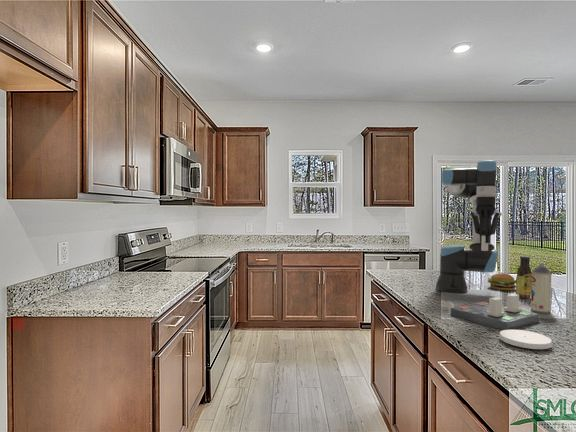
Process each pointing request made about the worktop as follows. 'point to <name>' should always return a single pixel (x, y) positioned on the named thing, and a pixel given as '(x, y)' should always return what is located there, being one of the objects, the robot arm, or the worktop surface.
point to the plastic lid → (526, 339)
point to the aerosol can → (541, 290)
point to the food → (502, 282)
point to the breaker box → (505, 322)
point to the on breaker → (512, 303)
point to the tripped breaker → (495, 307)
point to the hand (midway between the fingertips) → (484, 250)
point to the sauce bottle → (524, 278)
